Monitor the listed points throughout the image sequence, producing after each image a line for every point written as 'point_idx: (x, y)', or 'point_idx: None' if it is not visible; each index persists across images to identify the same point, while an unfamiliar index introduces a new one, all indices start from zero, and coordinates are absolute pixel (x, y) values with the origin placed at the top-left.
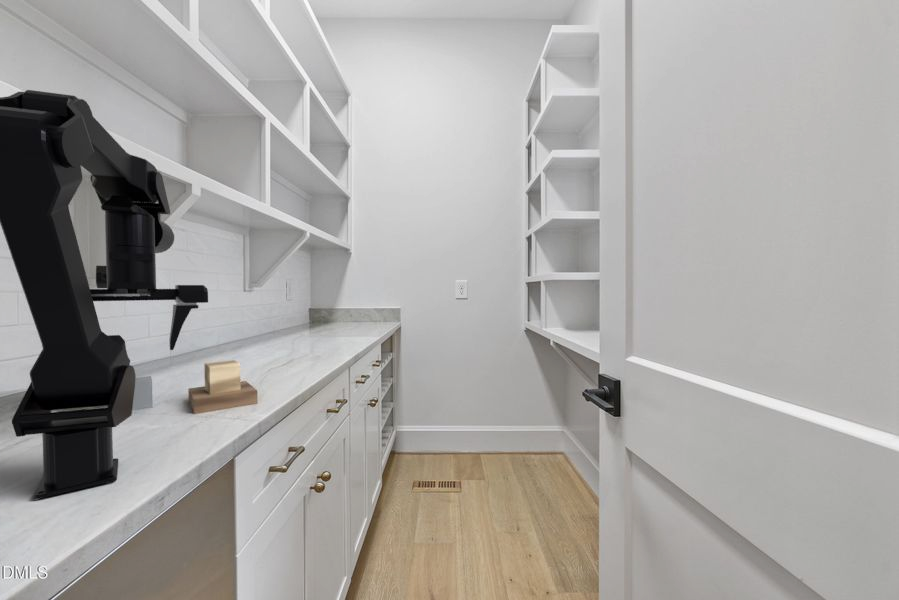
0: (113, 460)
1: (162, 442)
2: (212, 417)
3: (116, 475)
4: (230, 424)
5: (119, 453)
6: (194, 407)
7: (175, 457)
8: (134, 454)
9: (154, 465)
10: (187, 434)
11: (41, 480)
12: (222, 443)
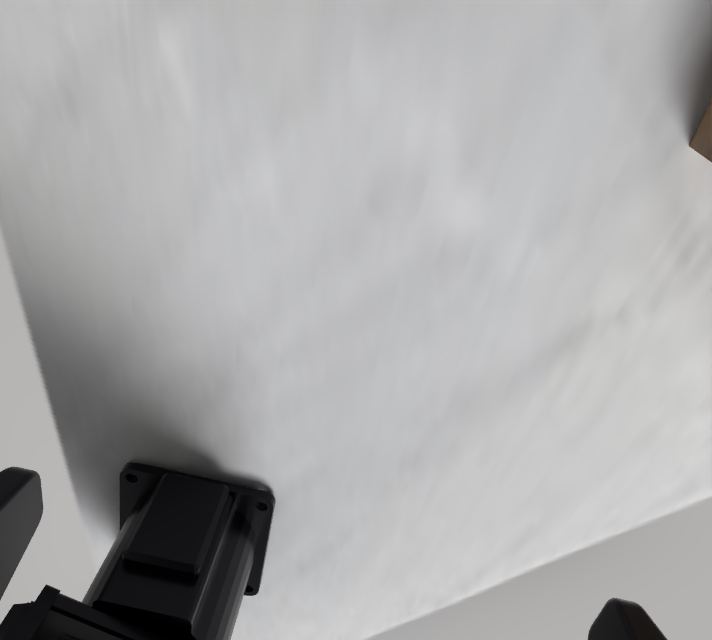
0: (263, 501)
1: (412, 429)
2: (697, 283)
3: (257, 590)
4: (666, 433)
5: (290, 424)
6: (705, 157)
7: (396, 556)
8: (321, 463)
9: (342, 563)
10: (503, 417)
11: (121, 505)
12: (528, 561)
